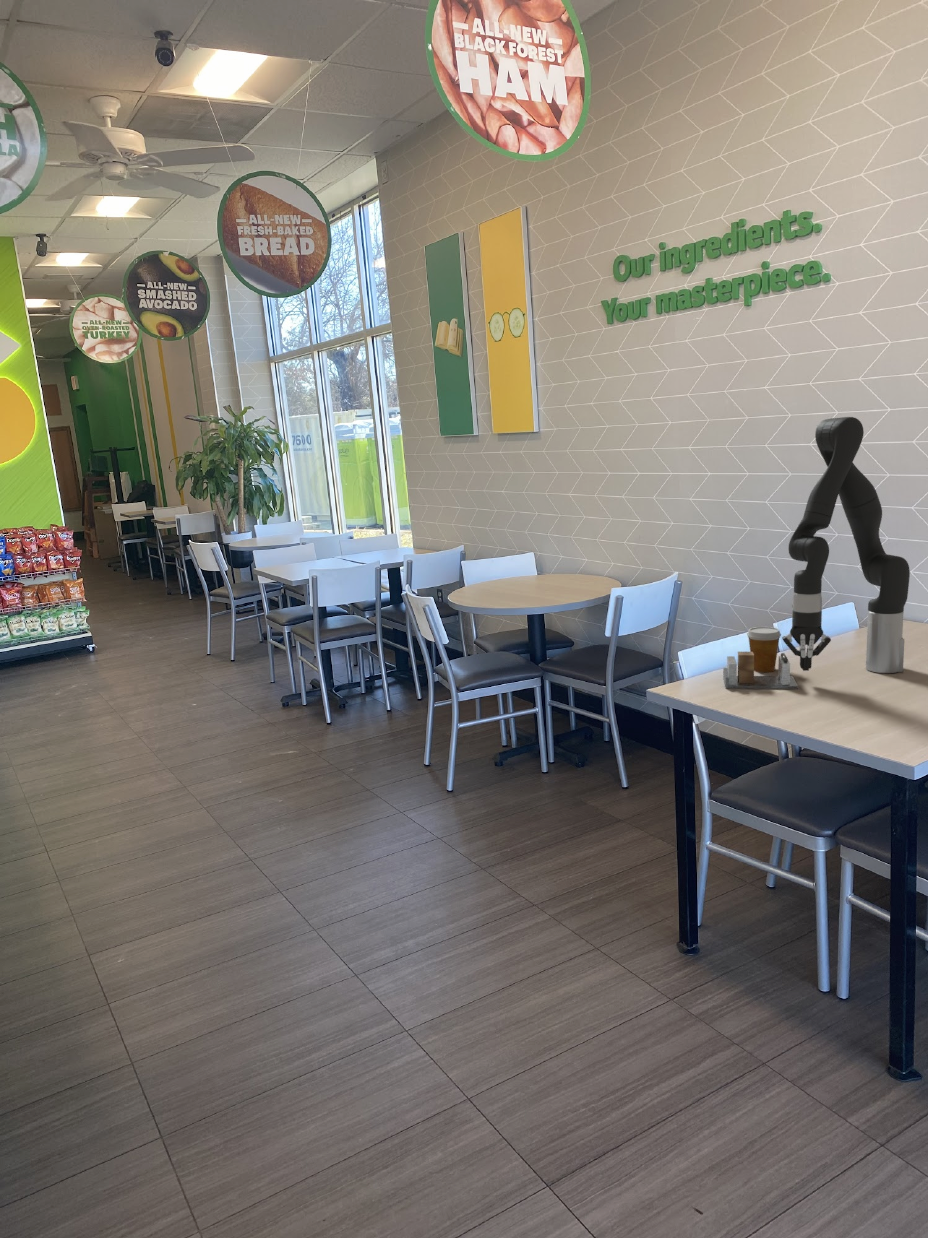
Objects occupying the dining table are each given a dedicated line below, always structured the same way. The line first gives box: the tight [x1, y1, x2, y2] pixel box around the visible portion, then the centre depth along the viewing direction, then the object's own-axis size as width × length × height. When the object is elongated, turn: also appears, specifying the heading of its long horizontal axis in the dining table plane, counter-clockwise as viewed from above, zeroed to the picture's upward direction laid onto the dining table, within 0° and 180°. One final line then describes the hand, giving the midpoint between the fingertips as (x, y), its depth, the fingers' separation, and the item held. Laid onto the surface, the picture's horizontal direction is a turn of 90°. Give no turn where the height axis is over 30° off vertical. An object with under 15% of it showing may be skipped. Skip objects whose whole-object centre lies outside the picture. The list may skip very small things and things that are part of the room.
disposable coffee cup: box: [746, 626, 782, 673], centre depth 265 cm, size 10×10×12 cm
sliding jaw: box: [777, 652, 791, 685], centre depth 251 cm, size 2×8×7 cm, turn 168°
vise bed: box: [722, 656, 799, 690], centre depth 252 cm, size 19×10×7 cm, turn 78°
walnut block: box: [737, 651, 755, 683], centre depth 253 cm, size 4×4×8 cm
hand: (805, 669), depth 249 cm, fingers closed
